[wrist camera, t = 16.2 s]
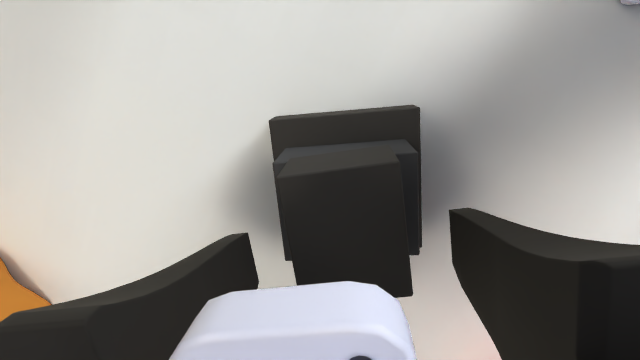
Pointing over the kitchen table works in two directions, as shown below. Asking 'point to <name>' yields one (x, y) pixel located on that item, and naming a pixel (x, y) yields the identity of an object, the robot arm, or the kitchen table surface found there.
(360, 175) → the dark grey rectangular block
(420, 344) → the kitchen table surface
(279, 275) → the kitchen table surface
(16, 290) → the coffee package
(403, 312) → the robot arm
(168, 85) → the kitchen table surface
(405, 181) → the black rectangular block
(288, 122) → the base pad
